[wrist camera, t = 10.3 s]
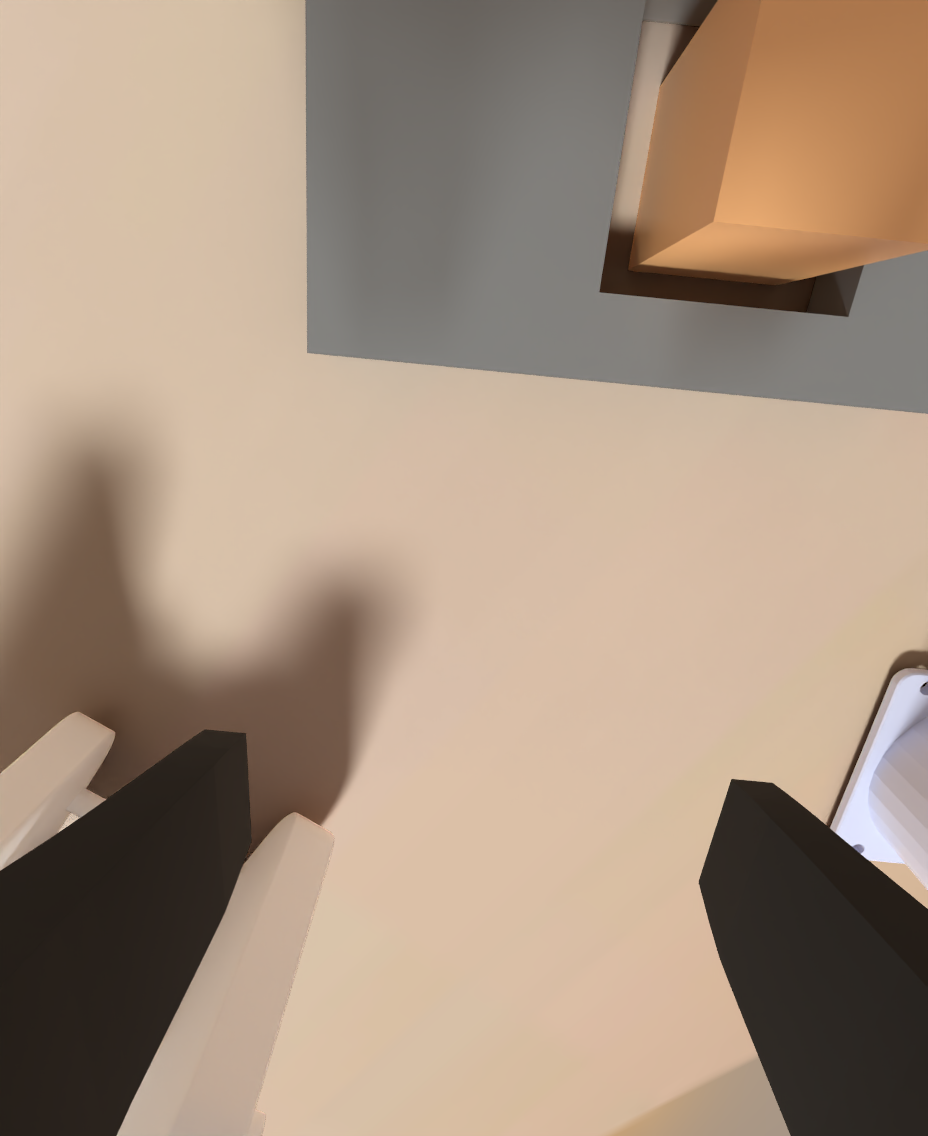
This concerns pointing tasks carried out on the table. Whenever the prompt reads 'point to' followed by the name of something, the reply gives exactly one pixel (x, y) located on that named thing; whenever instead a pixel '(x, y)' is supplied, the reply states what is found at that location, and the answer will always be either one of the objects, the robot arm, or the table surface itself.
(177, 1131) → the cable organizer
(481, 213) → the socket plate
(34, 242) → the table surface
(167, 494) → the table surface
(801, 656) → the table surface
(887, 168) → the orange rectangular block
